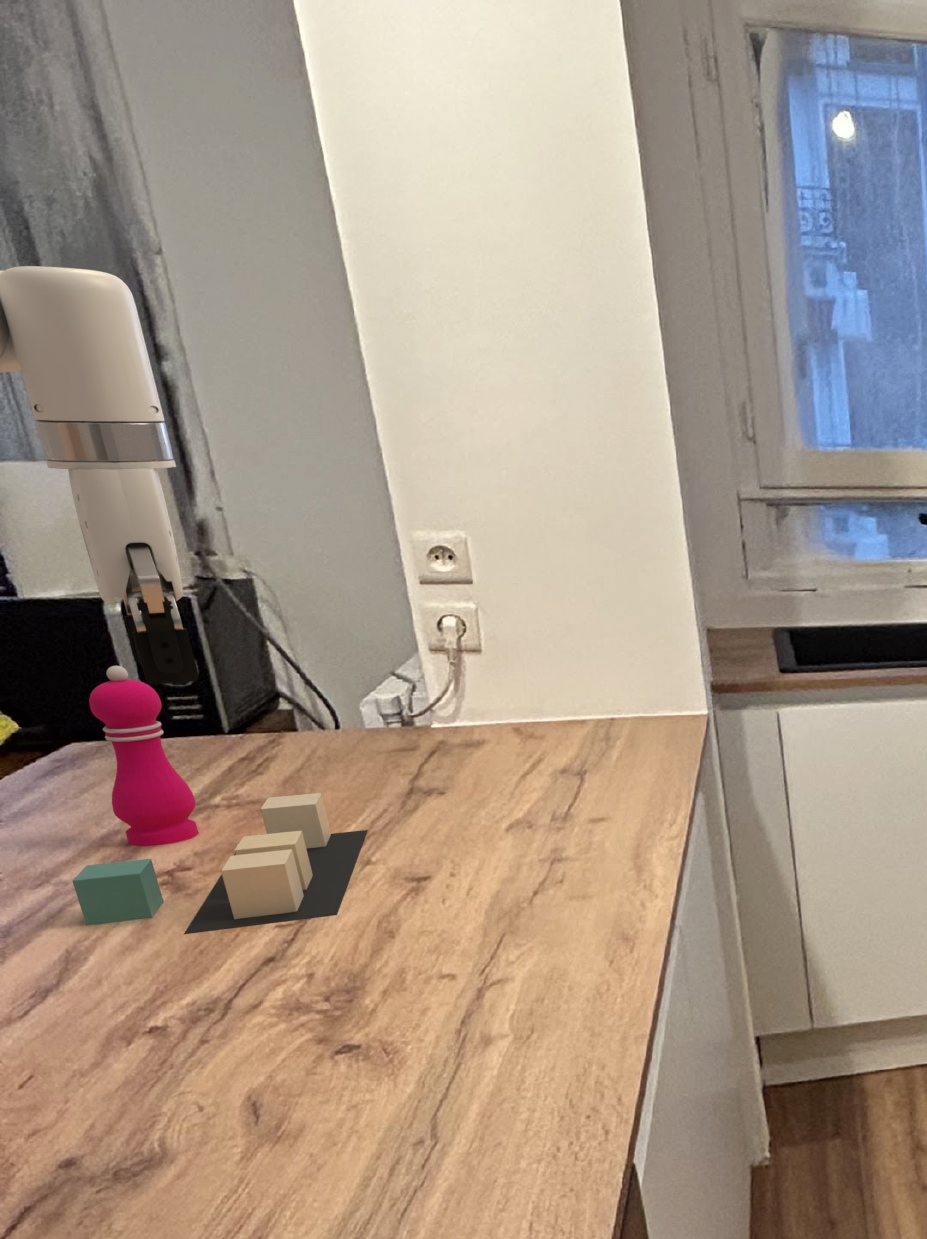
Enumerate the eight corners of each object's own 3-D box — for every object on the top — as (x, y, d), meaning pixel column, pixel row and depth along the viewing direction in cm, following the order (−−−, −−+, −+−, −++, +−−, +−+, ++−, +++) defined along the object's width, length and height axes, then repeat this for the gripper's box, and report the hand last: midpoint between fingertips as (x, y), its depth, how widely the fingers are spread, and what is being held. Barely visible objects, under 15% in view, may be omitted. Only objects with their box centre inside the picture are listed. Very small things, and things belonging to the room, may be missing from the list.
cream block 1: (271, 852, 149) (260, 808, 147) (278, 840, 153) (267, 797, 152) (325, 846, 151) (315, 803, 150) (331, 834, 156) (321, 792, 154)
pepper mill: (166, 830, 158) (117, 658, 151) (221, 833, 157) (174, 661, 150) (106, 849, 151) (52, 670, 144) (164, 852, 150) (112, 673, 143)
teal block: (87, 930, 128) (71, 880, 127) (101, 913, 132) (86, 865, 131) (153, 922, 131) (139, 873, 129) (165, 905, 135) (151, 858, 133)
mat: (184, 938, 127) (183, 933, 127) (242, 847, 152) (241, 842, 152) (338, 919, 132) (336, 914, 132) (368, 833, 158) (367, 829, 158)
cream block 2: (246, 897, 136) (234, 850, 134) (254, 882, 140) (242, 836, 138) (306, 890, 138) (295, 843, 137) (313, 875, 142) (301, 830, 141)
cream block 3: (234, 919, 130) (220, 870, 128) (243, 903, 134) (230, 855, 133) (297, 911, 132) (284, 863, 131) (304, 896, 137) (292, 849, 135)
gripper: (39, 443, 106) (101, 661, 112) (45, 451, 94) (114, 695, 100) (161, 443, 111) (214, 653, 117) (182, 451, 99) (239, 684, 105)
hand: (168, 672), depth 108 cm, fingers open, 9 cm apart
